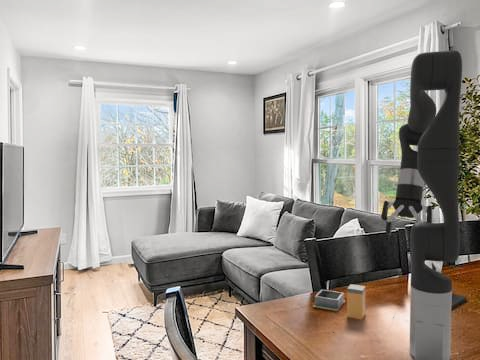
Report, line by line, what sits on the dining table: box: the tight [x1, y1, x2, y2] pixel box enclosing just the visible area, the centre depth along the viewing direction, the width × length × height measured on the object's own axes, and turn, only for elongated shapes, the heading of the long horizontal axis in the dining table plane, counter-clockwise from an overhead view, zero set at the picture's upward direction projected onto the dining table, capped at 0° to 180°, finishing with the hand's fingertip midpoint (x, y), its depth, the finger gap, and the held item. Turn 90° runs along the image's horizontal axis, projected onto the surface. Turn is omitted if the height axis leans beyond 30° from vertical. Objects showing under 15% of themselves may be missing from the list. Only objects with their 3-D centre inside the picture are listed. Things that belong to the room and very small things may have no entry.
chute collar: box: [314, 289, 345, 310], centre depth 132 cm, size 8×8×3 cm
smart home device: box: [451, 292, 467, 310], centre depth 134 cm, size 8×2×20 cm
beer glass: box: [425, 260, 444, 273], centre depth 151 cm, size 7×7×15 cm
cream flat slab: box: [312, 299, 346, 312], centre depth 132 cm, size 10×8×1 cm
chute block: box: [346, 283, 366, 320], centre depth 122 cm, size 4×4×10 cm
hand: (403, 237), depth 121 cm, fingers open, 8 cm apart
